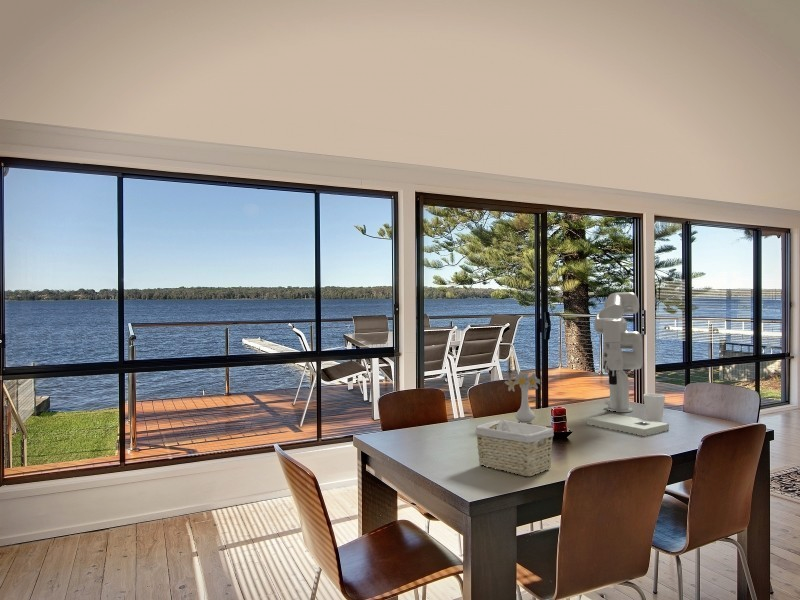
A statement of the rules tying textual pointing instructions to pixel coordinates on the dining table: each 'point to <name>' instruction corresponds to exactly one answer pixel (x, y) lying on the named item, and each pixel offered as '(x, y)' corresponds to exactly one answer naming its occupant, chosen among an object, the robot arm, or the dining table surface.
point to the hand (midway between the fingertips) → (613, 384)
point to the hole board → (628, 424)
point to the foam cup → (654, 406)
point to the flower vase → (524, 395)
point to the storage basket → (514, 447)
